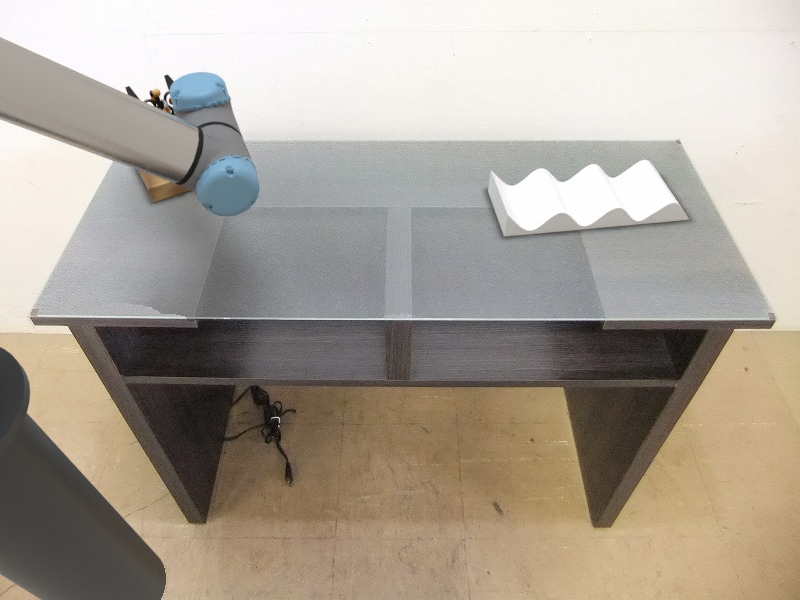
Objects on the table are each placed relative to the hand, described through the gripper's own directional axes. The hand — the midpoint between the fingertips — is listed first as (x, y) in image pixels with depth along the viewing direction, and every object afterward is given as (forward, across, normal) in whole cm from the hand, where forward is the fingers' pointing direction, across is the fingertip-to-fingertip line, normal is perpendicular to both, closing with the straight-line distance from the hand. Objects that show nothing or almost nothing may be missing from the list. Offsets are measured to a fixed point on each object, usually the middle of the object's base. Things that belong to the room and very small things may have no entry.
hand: (149, 87), depth 108 cm
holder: (-1, 0, -18) cm, 18 cm away
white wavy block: (-56, +59, -18) cm, 84 cm away
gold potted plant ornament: (-5, 0, -6) cm, 8 cm away
